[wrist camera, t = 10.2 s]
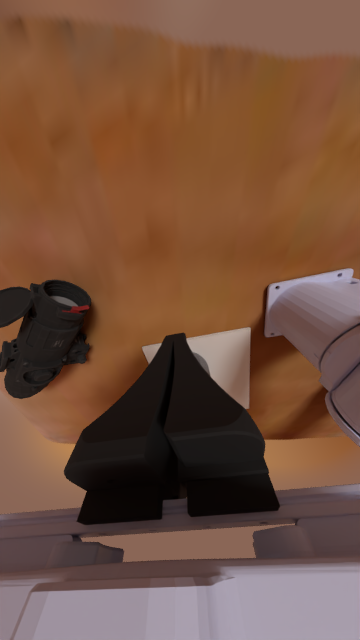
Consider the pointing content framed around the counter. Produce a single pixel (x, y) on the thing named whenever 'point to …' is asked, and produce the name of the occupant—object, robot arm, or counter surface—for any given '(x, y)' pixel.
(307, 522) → the robot arm
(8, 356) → the night vision scope
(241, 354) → the mat
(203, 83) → the counter surface
